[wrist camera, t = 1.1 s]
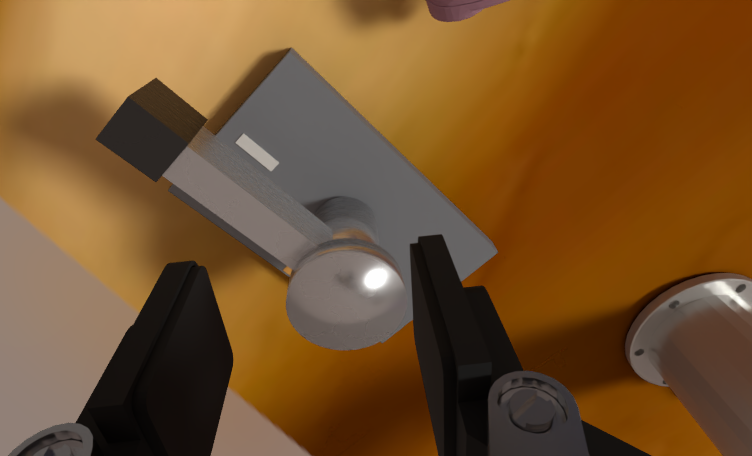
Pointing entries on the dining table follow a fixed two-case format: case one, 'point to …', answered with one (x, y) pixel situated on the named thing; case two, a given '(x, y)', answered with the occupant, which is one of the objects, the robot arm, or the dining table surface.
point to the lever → (270, 221)
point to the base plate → (341, 169)
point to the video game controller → (458, 8)
